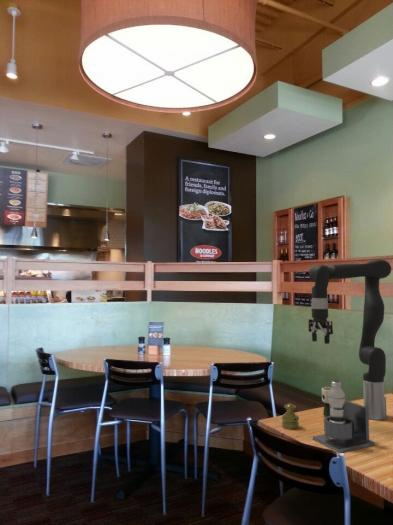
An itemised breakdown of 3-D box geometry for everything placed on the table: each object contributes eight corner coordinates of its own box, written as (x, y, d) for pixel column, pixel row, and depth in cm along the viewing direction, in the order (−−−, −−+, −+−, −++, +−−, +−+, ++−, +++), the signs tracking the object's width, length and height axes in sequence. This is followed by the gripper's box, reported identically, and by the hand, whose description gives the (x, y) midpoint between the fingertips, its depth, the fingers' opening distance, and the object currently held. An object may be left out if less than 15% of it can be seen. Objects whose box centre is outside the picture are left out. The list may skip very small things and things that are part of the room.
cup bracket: (346, 432, 176) (345, 399, 177) (374, 445, 162) (373, 408, 163) (312, 439, 169) (312, 404, 170) (339, 452, 155) (338, 414, 156)
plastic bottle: (347, 435, 162) (346, 383, 163) (330, 434, 163) (328, 383, 165) (345, 429, 169) (343, 379, 170) (327, 428, 170) (326, 379, 171)
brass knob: (286, 422, 189) (286, 400, 190) (301, 426, 185) (301, 403, 185) (279, 427, 184) (278, 404, 184) (294, 430, 179) (293, 407, 180)
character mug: (322, 412, 205) (321, 385, 205) (337, 413, 202) (336, 386, 203) (322, 419, 194) (321, 391, 195) (338, 420, 192) (337, 392, 193)
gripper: (336, 308, 189) (337, 343, 188) (316, 306, 202) (316, 340, 201) (323, 308, 186) (324, 345, 185) (303, 307, 199) (304, 341, 198)
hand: (320, 342), depth 193 cm, fingers open, 8 cm apart
